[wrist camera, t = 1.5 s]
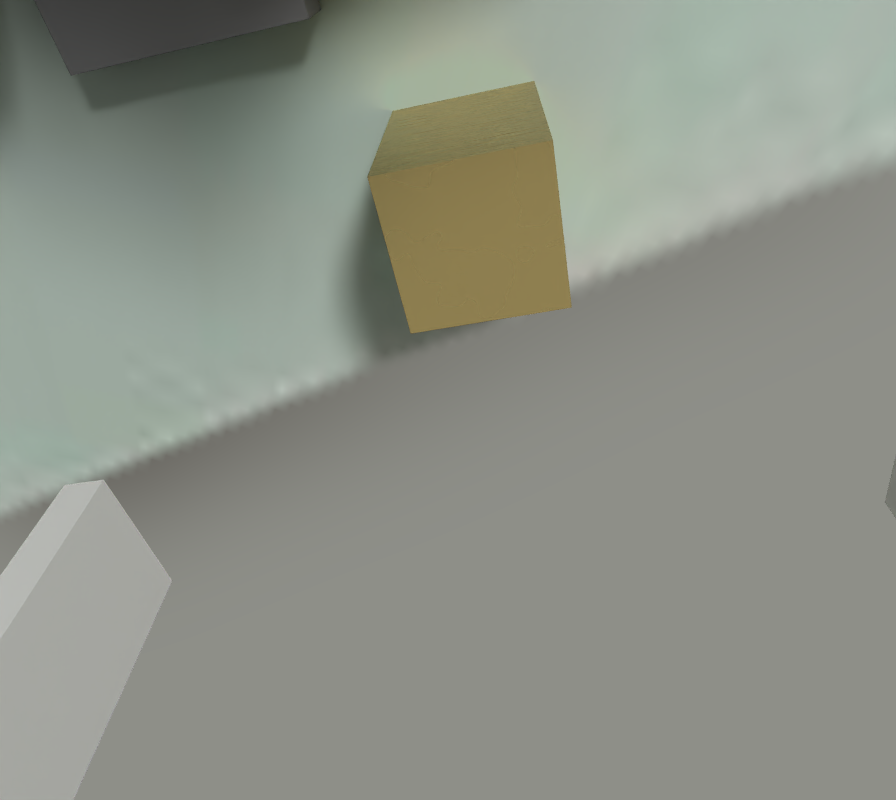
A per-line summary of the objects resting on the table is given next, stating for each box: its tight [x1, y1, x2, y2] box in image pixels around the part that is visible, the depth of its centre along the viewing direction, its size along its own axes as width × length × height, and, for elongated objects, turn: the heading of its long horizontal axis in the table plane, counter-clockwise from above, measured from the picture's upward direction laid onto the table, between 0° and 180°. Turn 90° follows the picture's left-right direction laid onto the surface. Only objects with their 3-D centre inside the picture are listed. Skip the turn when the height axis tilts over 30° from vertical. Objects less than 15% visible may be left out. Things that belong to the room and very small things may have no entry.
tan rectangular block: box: [368, 81, 571, 334], centre depth 22 cm, size 5×5×7 cm
